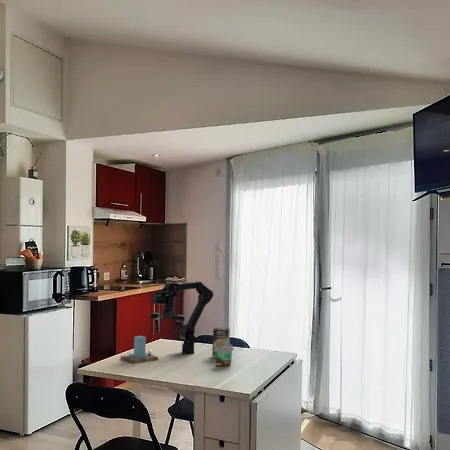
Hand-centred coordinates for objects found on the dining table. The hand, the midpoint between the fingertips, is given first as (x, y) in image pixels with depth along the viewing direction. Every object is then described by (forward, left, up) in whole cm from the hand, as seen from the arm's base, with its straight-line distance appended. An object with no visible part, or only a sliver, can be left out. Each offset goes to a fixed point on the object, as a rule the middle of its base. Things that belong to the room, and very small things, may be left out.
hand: (166, 332), depth 274 cm
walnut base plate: (+13, +11, -13) cm, 22 cm away
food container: (-33, +21, -13) cm, 41 cm away
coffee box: (-31, +2, -13) cm, 33 cm away
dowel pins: (+13, +11, -11) cm, 21 cm away
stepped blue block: (+13, +11, -11) cm, 21 cm away
